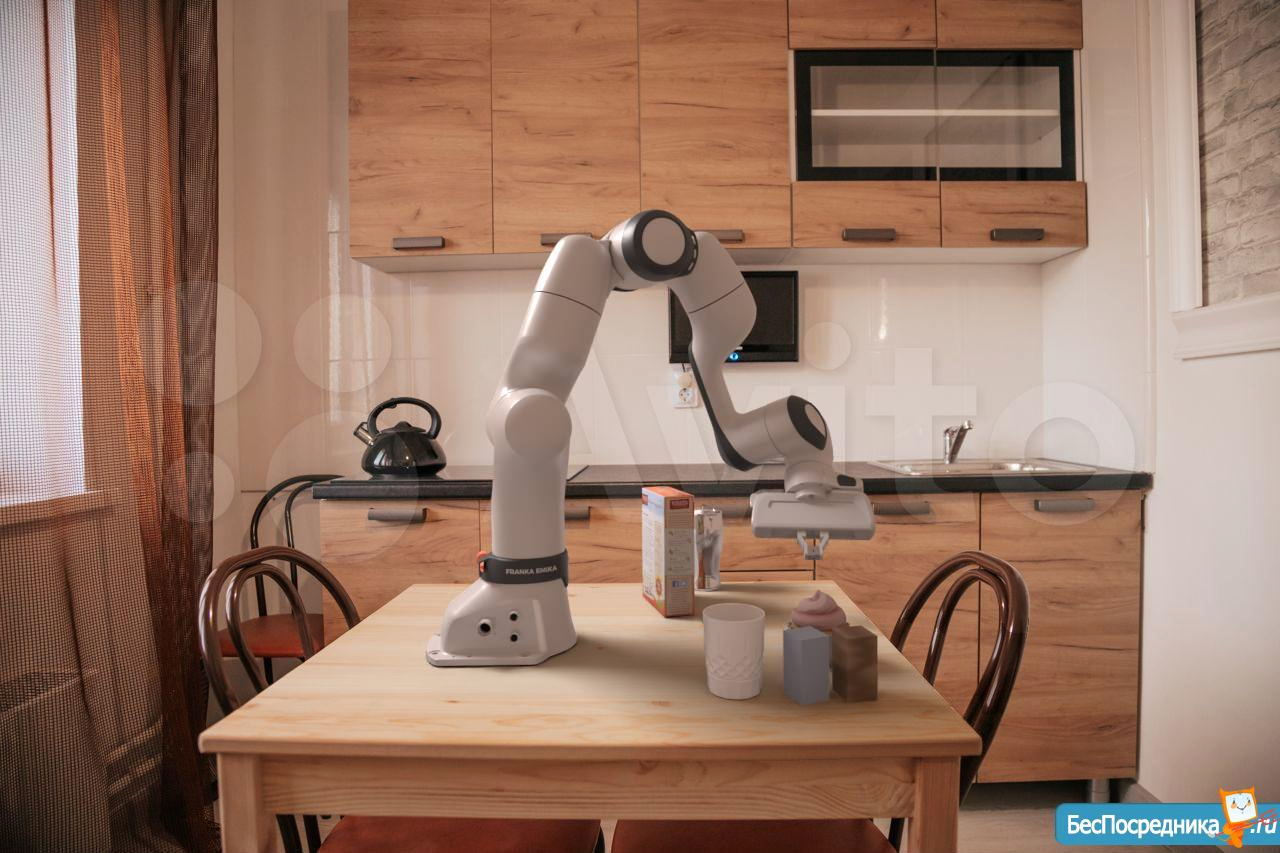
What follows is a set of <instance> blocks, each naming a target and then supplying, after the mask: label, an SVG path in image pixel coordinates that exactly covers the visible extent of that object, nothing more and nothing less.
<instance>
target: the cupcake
mask: <svg viewBox="0 0 1280 853" xmlns="http://www.w3.org/2000/svg"><path fill="white" fill-rule="evenodd" d="M846 615H847V614H846V612H845V610H843V608H842V607H841V606H839V605H838V604H837V601H836V600H835V599H834V598H833V597H832V596H831V595H829V594H828V593H825V592H823V591H821V590H819V589H816V590H815V591H814V593H813V595H812V596H811V597H806V598H804V599H801V601H799V602H798V605H797V606H796V608H795V609H793V610H792V611H791V614H790V621H788V622H786V623H785V625H786V627H787V629H794V628H800V627H807V626H811V627H813V628H815V629H817V630H819V631H821V632H823V633H825V634H827V635H828V636H829V667H832V628H837V627H849V626H850V622H847V616H846Z"/></svg>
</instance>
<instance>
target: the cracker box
mask: <svg viewBox="0 0 1280 853" xmlns="http://www.w3.org/2000/svg"><path fill="white" fill-rule="evenodd" d="M641 504H642V505H641V520H642V522H641V523H642V524H641V526H642V529H641V530H642V531H641V532H642V533H641V535H642V540H641V541H642V542H641V543H642V547H641V548H642V550H641V551H642V597H644V599H646V600H647V602H648V603H650V604H651V605H652V606H653V607H654V609H656V610H657V612H659V613H660V614H661V615H662V617H665V618H667V617H679V616H691V615H695V613H696V612H695V598H696V597H695V591H696V590H695V583H694V568H695V567H694V510H695V495H694V494H691V493H688V492H686V491H683V490H679V489H677V488H674V487H672V486H646V487H645V486H644V487H642V488H641Z"/></svg>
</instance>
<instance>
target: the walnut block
mask: <svg viewBox="0 0 1280 853" xmlns="http://www.w3.org/2000/svg"><path fill="white" fill-rule="evenodd" d="M878 637H879V636H878V634H875V633H873V632H872V631H870V630H869V629H867V628H866V627H864V626H863V625H852V626H850V625H849V627H837V628H832V666H831V681H832V682H831V686H832V687H831V689H832V691H833V692H834V693H835V694H836V695H837V696H838V697H839V698H840V699H842V700H843V701H844V702H845V703H846V704H854V703H863V702H864V703H865V702H873V701H874V702H875V701H878V697H879V696H878V691H879V689H878V687H879V686H878V684H879V683H878V677H879V676H878V674H879V673H878V668H879V667H878V665H879V664H878V656H879V655H878V653H879V652H878V647H879V646H878V643H879V642H878V640H879V638H878Z"/></svg>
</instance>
